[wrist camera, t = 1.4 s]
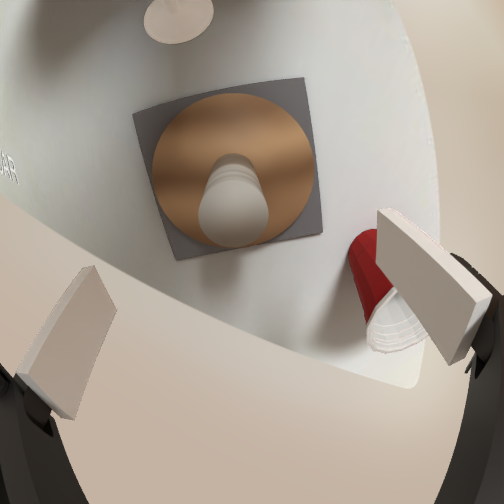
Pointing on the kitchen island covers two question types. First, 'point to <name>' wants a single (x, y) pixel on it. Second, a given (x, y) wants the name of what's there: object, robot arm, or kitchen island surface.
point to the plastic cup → (381, 301)
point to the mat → (278, 91)
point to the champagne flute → (177, 19)
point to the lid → (233, 170)
